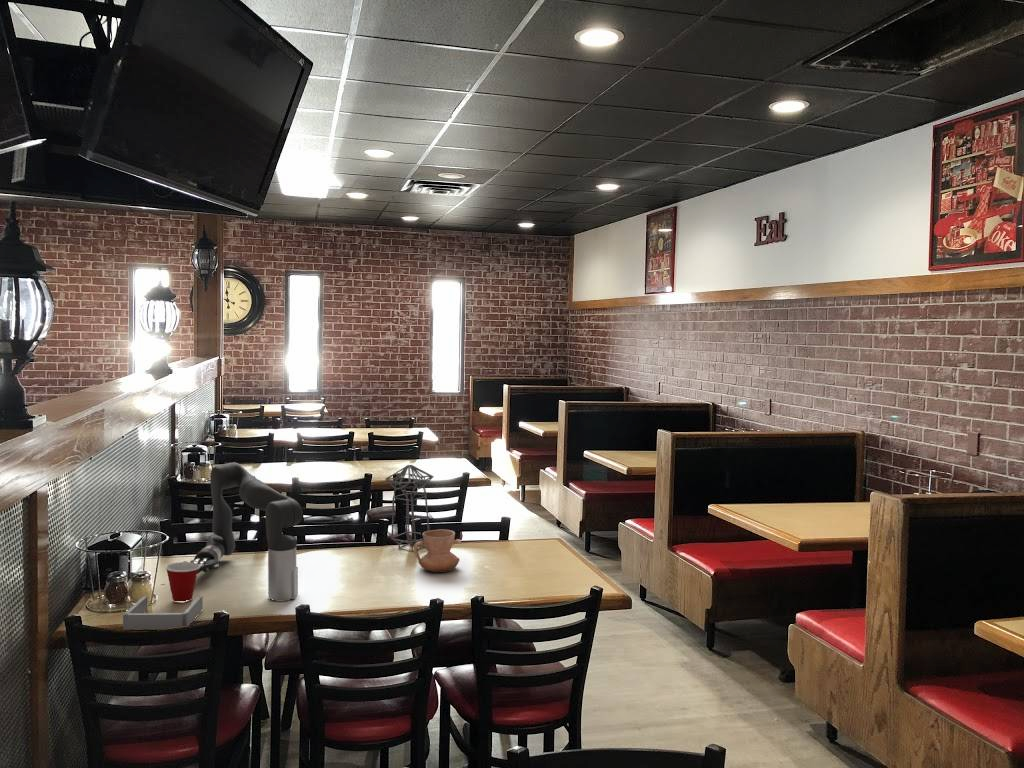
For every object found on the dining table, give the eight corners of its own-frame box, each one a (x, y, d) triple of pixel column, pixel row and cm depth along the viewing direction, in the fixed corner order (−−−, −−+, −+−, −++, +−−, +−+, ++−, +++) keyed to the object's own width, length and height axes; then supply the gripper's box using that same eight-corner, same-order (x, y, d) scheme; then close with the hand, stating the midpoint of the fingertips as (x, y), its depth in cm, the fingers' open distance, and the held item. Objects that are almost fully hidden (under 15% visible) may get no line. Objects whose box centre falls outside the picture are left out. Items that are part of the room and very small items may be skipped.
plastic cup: (206, 600, 265) (205, 565, 264) (173, 608, 257) (172, 572, 256) (192, 592, 273) (192, 558, 272) (160, 599, 265) (159, 564, 264)
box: (202, 610, 256) (202, 595, 256) (186, 630, 240) (186, 614, 240) (143, 611, 254) (143, 596, 254) (123, 631, 238) (122, 615, 238)
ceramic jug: (460, 562, 311) (459, 527, 310) (462, 574, 297) (462, 536, 296) (413, 564, 309) (413, 529, 308) (414, 576, 295) (413, 538, 294)
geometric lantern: (413, 555, 320) (411, 469, 317) (384, 549, 328) (382, 466, 326) (437, 546, 333) (436, 463, 330) (408, 540, 342) (407, 460, 339)
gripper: (189, 547, 291) (173, 562, 274) (226, 547, 292) (212, 562, 275) (189, 568, 292) (173, 583, 275) (226, 567, 293) (212, 583, 276)
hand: (193, 572), depth 275 cm, fingers closed
